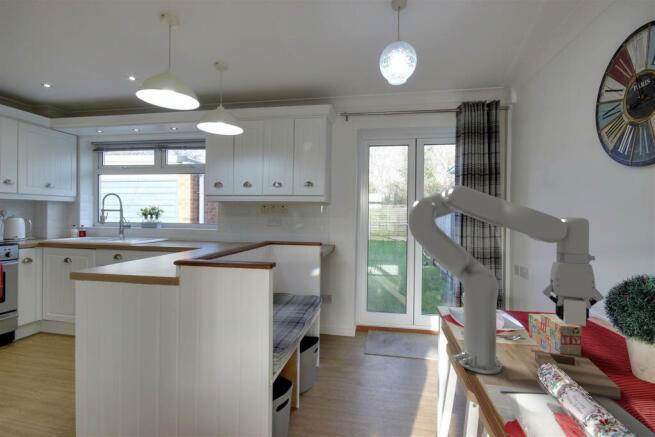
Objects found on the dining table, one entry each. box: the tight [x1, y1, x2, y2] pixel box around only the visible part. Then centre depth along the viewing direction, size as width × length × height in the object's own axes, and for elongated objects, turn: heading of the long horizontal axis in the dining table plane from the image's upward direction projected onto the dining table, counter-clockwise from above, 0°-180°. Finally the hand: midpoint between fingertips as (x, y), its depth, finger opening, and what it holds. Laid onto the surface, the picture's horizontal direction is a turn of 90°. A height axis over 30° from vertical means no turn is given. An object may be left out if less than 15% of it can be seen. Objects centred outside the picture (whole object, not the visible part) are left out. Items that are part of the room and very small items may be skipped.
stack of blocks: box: [528, 313, 582, 357], centre depth 108 cm, size 21×6×12 cm, turn 170°
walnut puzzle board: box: [534, 350, 621, 400], centre depth 89 cm, size 18×14×3 cm
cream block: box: [559, 297, 587, 327], centre depth 89 cm, size 5×5×7 cm
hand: (571, 318), depth 89 cm, fingers closed on cream block, 5 cm apart
